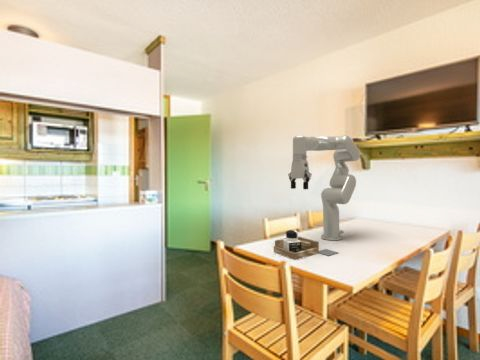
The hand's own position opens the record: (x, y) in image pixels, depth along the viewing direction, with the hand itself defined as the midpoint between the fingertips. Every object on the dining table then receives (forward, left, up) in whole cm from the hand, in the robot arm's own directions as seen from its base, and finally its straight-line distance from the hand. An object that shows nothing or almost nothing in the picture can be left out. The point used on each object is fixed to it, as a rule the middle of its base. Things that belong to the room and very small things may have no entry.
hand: (299, 188), depth 149 cm
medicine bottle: (+12, +6, -33) cm, 36 cm away
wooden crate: (+9, +6, -33) cm, 35 cm away
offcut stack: (+4, +6, -33) cm, 34 cm away
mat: (-3, +16, -33) cm, 37 cm away
